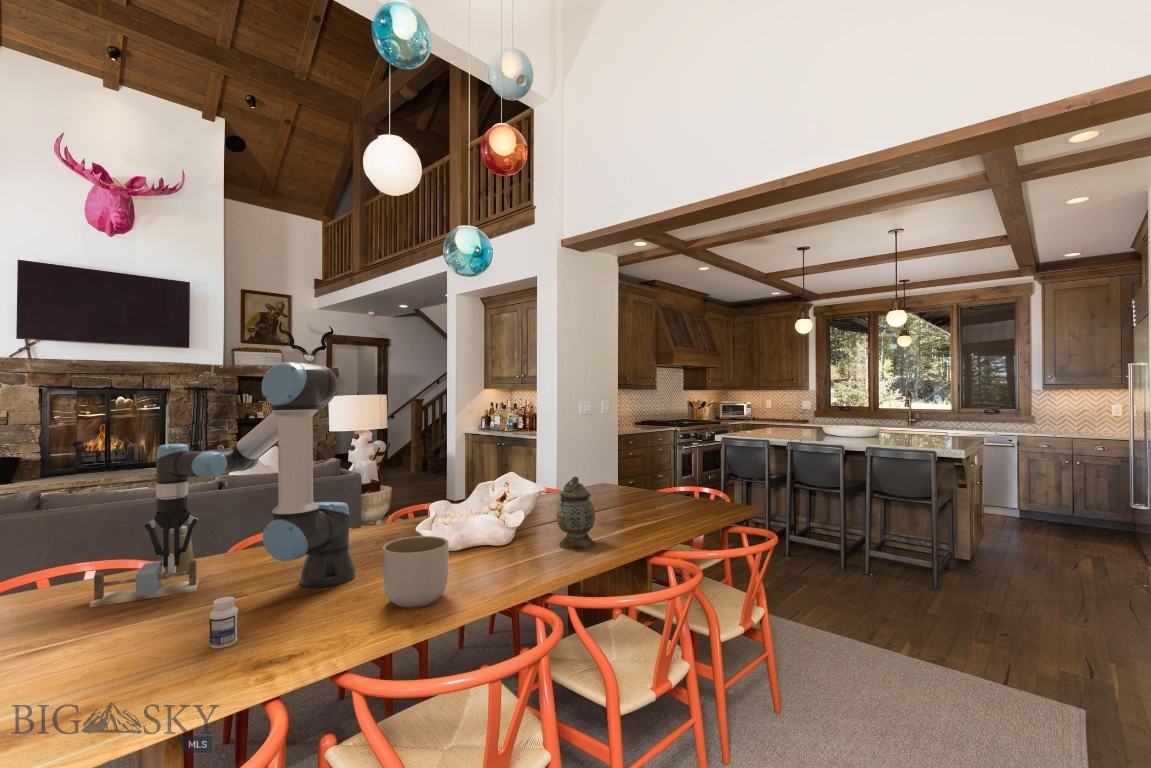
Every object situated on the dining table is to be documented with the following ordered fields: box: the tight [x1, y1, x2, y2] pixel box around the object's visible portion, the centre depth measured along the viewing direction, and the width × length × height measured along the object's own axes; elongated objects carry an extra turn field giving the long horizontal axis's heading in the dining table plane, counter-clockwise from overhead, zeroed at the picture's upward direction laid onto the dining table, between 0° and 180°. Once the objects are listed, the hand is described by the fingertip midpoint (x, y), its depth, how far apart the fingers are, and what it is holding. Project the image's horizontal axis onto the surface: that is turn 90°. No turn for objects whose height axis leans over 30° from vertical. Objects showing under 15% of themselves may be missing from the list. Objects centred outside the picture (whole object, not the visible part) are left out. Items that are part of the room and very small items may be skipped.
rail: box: [89, 559, 200, 608], centre depth 153 cm, size 23×8×8 cm, turn 119°
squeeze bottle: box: [161, 524, 195, 574], centre depth 171 cm, size 8×8×18 cm
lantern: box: [556, 476, 597, 551], centre depth 197 cm, size 14×14×25 cm
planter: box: [381, 535, 450, 609], centre depth 145 cm, size 17×17×15 cm
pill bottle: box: [209, 596, 239, 649], centre depth 121 cm, size 5×5×10 cm
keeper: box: [135, 560, 164, 597], centre depth 153 cm, size 4×12×6 cm, turn 29°
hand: (171, 577), depth 159 cm, fingers closed
